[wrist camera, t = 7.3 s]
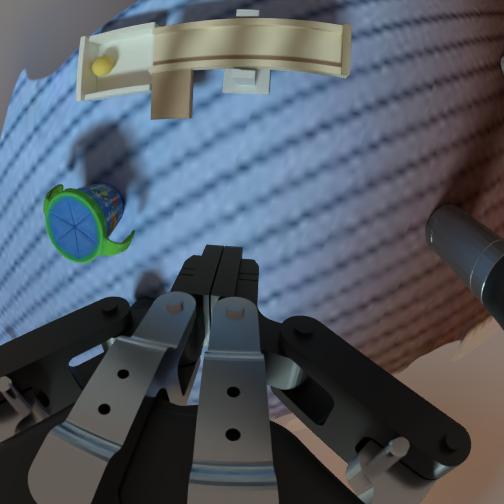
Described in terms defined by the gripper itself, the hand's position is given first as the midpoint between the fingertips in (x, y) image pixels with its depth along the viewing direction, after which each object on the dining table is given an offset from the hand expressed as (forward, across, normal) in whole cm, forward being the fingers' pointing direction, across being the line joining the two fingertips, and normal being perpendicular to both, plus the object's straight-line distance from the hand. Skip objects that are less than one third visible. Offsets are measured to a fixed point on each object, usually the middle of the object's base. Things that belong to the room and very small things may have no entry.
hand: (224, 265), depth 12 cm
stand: (+28, +2, -15) cm, 32 cm away
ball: (+26, +23, -15) cm, 38 cm away
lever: (+22, +1, -12) cm, 25 cm away
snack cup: (+28, +23, +7) cm, 37 cm away
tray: (+28, +19, -15) cm, 37 cm away
